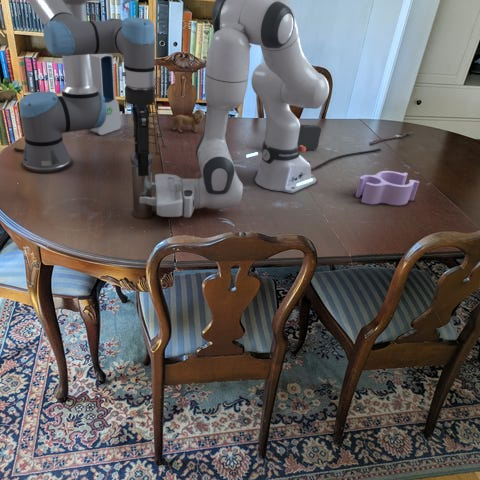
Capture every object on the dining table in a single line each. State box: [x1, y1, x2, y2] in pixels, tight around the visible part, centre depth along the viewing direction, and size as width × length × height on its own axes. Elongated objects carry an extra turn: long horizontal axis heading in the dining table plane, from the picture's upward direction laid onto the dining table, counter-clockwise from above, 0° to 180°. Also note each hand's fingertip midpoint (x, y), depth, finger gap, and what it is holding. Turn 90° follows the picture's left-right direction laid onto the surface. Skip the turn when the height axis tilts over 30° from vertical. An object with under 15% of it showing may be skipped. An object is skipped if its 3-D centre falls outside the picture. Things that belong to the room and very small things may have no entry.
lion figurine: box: [169, 108, 205, 133], centre depth 196 cm, size 15×5×9 cm, turn 110°
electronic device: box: [88, 54, 122, 136], centre depth 182 cm, size 12×8×30 cm, turn 148°
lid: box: [130, 152, 153, 166], centre depth 128 cm, size 6×6×2 cm
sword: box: [370, 133, 413, 145], centre depth 213 cm, size 31×3×1 cm, turn 126°
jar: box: [131, 162, 153, 219], centre depth 133 cm, size 5×5×18 cm
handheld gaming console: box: [297, 124, 322, 151], centre depth 189 cm, size 23×3×10 cm, turn 108°
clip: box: [355, 170, 420, 206], centre depth 160 cm, size 20×12×7 cm, turn 109°
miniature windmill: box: [146, 68, 166, 154], centre depth 171 cm, size 9×8×30 cm
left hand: (141, 170), depth 130 cm, fingers closed on lid, 6 cm apart
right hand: (139, 193), depth 134 cm, fingers closed on jar, 5 cm apart
